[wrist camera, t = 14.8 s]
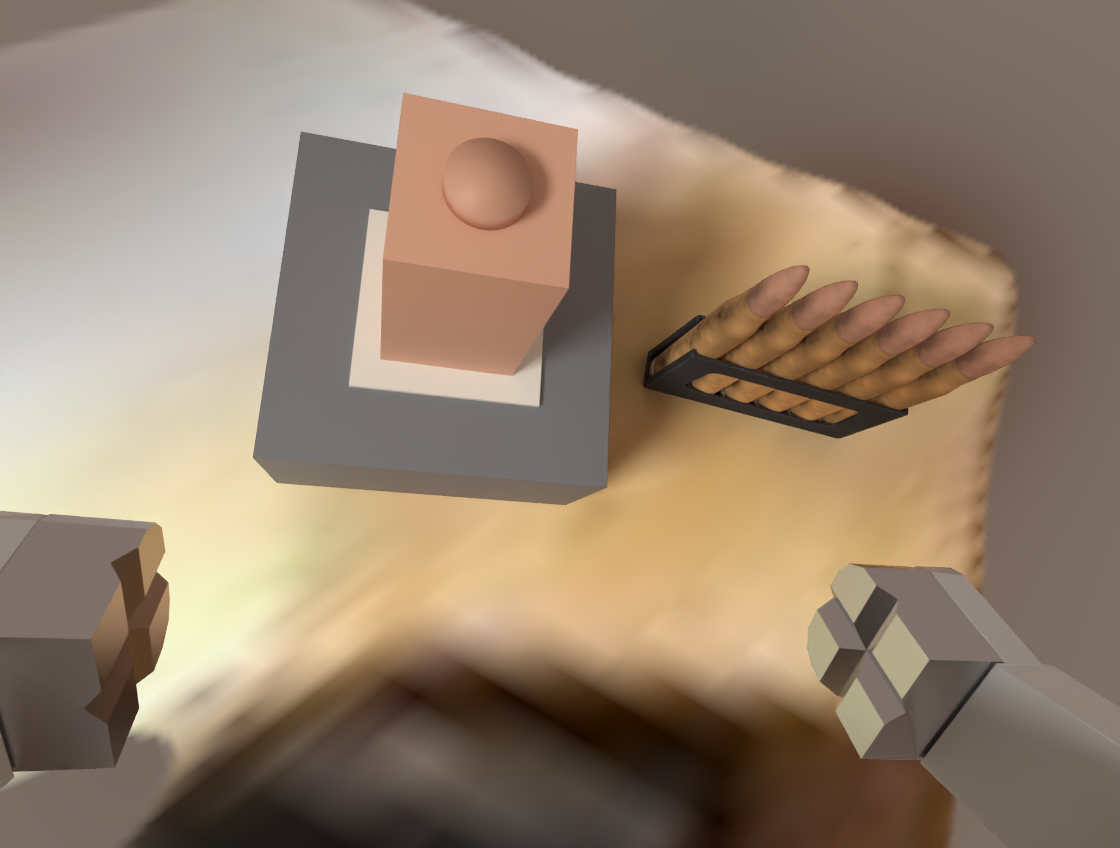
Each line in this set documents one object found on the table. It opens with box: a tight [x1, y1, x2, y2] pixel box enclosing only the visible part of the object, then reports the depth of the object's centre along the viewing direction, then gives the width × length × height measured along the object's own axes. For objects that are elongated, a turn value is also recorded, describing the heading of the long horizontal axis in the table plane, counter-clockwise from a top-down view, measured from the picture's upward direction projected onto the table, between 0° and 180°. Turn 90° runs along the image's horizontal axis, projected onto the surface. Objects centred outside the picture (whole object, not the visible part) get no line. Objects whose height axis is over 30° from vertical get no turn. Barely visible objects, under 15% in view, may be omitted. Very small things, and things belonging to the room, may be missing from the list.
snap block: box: [380, 93, 578, 376], centre depth 22 cm, size 5×5×9 cm
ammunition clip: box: [643, 266, 1036, 438], centre depth 29 cm, size 11×2×12 cm, turn 79°
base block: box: [253, 132, 616, 505], centre depth 29 cm, size 12×12×6 cm
